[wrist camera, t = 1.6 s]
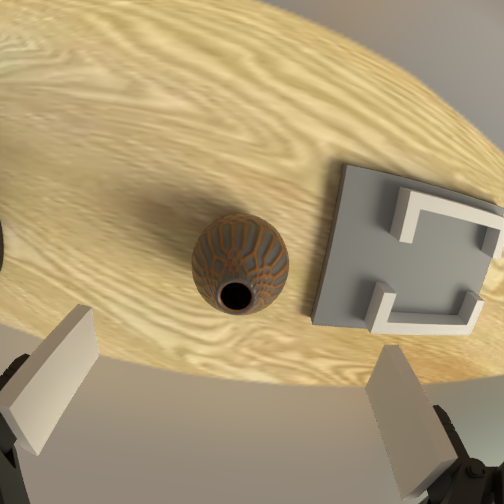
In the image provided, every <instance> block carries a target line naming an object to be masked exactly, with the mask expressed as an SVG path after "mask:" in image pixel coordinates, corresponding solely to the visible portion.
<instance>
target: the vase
mask: <svg viewBox="0 0 504 504" xmlns="http://www.w3.org/2000/svg"><path fill="white" fill-rule="evenodd" d="M288 271H289V258H288V252H287V248H286V246H285V243H284V241H283V239H282V237H281V236H280V234H279V233H278V231H277V230H276V229H275V228H274V227H273V226H272V225H271V224H270V223H268V222H267V221H265V220H263V219H261V218H259V217H257V216H254V215H249V214H232V215H228V216H225V217H222V218H220V219H218V220H216V221H215V222H213V223H212V224H211V225H210V226H209V227H207V228H206V230H205V231H204V232H203V233H202V235H201V236H200V237H199V239H198V241H197V243H196V245H195V248H194V251H193V255H192V274H193V279H194V282H195V285H196V287H197V289H198V291H199V293H200V294H201V296H202V297H203V298H204V299H205V301H206V302H207V303H209V304H210V305H211V306H212V307H214V308H216V309H217V310H219V311H222V312H224V313H227V314H232V315H248V314H252V313H256V312H258V311H260V310H262V309H264V308H266V307H267V306H269V305H270V304H271V303H272V302H273V301H274V300H275V299H276V298H277V297H278V295H279V294H280V292H281V291H282V289H283V287H284V285H285V283H286V280H287V276H288Z"/></svg>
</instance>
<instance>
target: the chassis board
mask: <svg viewBox="0 0 504 504" xmlns="http://www.w3.org/2000/svg"><path fill="white" fill-rule="evenodd" d="M503 214H504V208H502V207H500V206H497V205H494V204H492V203H489V202H486V201H483V200H480V199H477V198H474V197H471V196H468V195H464V194H461V193H458V192H455V191H451V190H448V189H445V188H441V187H438V186H434V185H431V184H427V183H424V182H420V181H416V180H412V179H408V178H405V177H401V176H397V175H392V174H388V173H384V172H380V171H375V170H371V169H366V168H362V167H357V166H352V165H348V164H343V167H342V173H341V179H340V185H339V190H338V196H337V201H336V206H335V212H334V217H333V222H332V227H331V232H330V237H329V241H328V246H327V251H326V255H325V260H324V264H323V269H322V273H321V277H320V282H319V286H318V290H317V294H316V298H315V302H314V307H313V311H312V314H311V321H312V324H313V325H321V326H334V327H349V328H365V329H368V330H369V332H370V333H376V334H403V335H470V334H471V332H472V329H473V327H474V325H475V323H476V321H477V318H478V316H479V314H480V311H481V309H482V307H483V304H484V302H485V301H484V300H483V299H482V298H481V297H480V296H479V292H480V290H481V287H482V284H483V282H484V279H485V276H486V273H487V270H488V267H489V264H490V261H491V258H493V259H498V260H500V257H501V254H502V251H503V247H504V217H503Z"/></svg>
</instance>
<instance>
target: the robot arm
mask: <svg viewBox="0 0 504 504" xmlns="http://www.w3.org/2000/svg"><path fill="white" fill-rule="evenodd" d="M3 251H4V247H3V234H2V227H1V222H0V271H1V268H2V263H3ZM99 355H100V354H99V349H98V343H97V337H96V331H95V325H94V318H93V311H92V307H89V306H85V305H80V304H78V305H77V306H76V307H75V308H74V309H73V310H72V311H71V312H70V313H69V314H68V315H67V316H66V317H65V318H64V319H63V320H62V321H61V322H60V323H59V325H58V326H57V327H56V328H55V329H54V330H53V331H52V332H51V333H50V334H49V335H48V336H47V338H46V339H45V340H44V341H43V342H42V343H41V344H40V345H39V346H38V348H37V349H36V350H35V351H34V352H33V353H32V354H31V355H28V354H24V355H22V356H20V357H18V358H16V359H15V360H14V361H13V362H12V364H11V365H10V366H9V367H8V369H6V370H5V371H4V373H3V375H1V376H0V504H30V501H29V498H28V495H27V492H26V488H25V485H24V481H23V477H22V474H21V470H20V466H19V461H18V457H17V452H16V449H15V446H14V443H15V441H16V440H18V442H19V443H20V445H21V446H22V448H24V449H25V450H27V451H29V452H31V453H33V454H35V455H37V456H38V455H39V453H40V451H41V449H42V448H43V446H44V444H45V442H46V440H47V439H48V437H49V435H50V434H51V432H52V430H53V428H54V427H55V425H56V423H57V422H58V420H59V418H60V417H61V415H62V413H63V412H64V410H65V408H66V407H67V405H68V403H69V402H70V400H71V399H72V397H73V395H74V394H75V392H76V390H77V389H78V387H79V386H80V384H81V383H82V381H83V379H84V378H85V376H86V375H87V373H88V372H89V370H90V368H91V367H92V365H93V364H94V362H95V361H96V359H97V358H98V356H99ZM365 390H366V392H367V395H368V398H369V401H370V404H371V407H372V409H373V412H374V415H375V418H376V421H377V424H378V427H379V430H380V433H381V436H382V439H383V442H384V445H385V448H386V451H387V454H388V457H389V461H390V464H391V467H392V470H393V473H394V476H395V480H396V483H397V486H398V490H399V493H400V497H401V500H402V501H403V500H407V499H412V498H416V497H419V496H420V495H421V494H422V493H423V492H424V491H425V490H426V489H427V492H428V496H427V497H426V498H425V499H424V500H423V501H421V502H420V503H419V504H504V462H503V463H502V464H501V465H500V466H499V467H486V466H485V465H484V464H483V462H482V461H480V460H478V459H475V458H470V457H469V455H468V454H467V451H466V449H465V447H464V445H463V443H462V442H461V439H460V437H459V435H458V434H457V432H456V431H455V428H454V426H453V424H451V420H450V418H449V417H448V415H447V413H446V412H445V411H444V410H443V409H442V408H441V407H440V406H439V405H434V406H432V404H431V403H430V401H429V399H428V397H427V395H426V393H425V392H424V389H423V388H422V386H421V384H420V382H419V380H418V378H417V377H416V375H415V373H414V371H413V370H412V368H411V366H410V364H409V362H408V361H407V359H406V357H405V356H404V354H403V352H402V350H401V349H400V347H399V345H384V347H383V349H382V351H381V354H380V356H379V359H378V361H377V363H376V365H375V368H374V370H373V372H372V374H371V377H370V379H369V381H368V383H367V385H366V387H365Z"/></svg>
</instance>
